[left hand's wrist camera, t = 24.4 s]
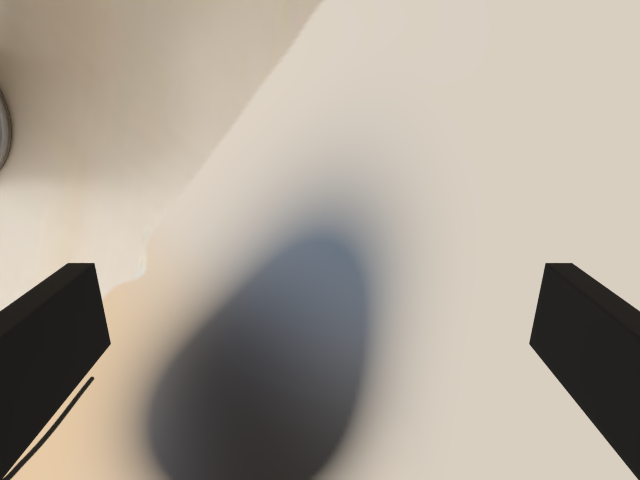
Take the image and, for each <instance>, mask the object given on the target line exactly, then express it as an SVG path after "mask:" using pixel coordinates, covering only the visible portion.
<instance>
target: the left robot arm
mask: <svg viewBox="0 0 640 480" xmlns="http://www.w3.org/2000/svg"><path fill="white" fill-rule="evenodd" d="M10 145H11V120H10V115H9V111H8V108H7V104H6V102H5V99H4V97H3V95H2V93H1V91H0V169H1V167H2V166H3V164H4V162H5V160H6V158H7V156H8V153H9V149H10ZM110 344H111V343H110V338H109V333H108V328H107V323H106V318H105V313H104V308H103V303H102V298H101V293H100V289H99V284H98V279H97V274H96V269H95V264H94V263H68V264H66V265H65V266H63V267H62V268H61V269H59V270H58V271H56V272H55V273H53V274H52V275H51V276H49V277H48V278H46V279H45V280H44V281H42V282H41V283H39V284H38V285H37V286H35V287H34V288H32V289H31V290H30V291H28V292H27V293H25V294H24V295H23V296H21V297H20V298H18V299H17V300H16V301H14V302H13V303H11V304H10V305H9V306H7V307H6V308H4V309H3V310H2V311H0V480H11V479H12V478H13V477H14V475H15V474H16V473H17V472H18V471H19V470H20V469H21V468H22V467H23V466H24V464H25V463H26V462H27V461H28V460H29V459H30V458H31V457H32V456H33V455H34V454H35V453H36V452H37V451H38V450H39V448H40V447H41V446H42V445H43V444H44V443H45V442H46V440H47V439H48V438H49V437H50V436H51V434H52V433H53V432H54V431H55V430H56V428H57V427H58V426H59V425H60V423H61V422H62V421H63V419H64V418H65V417H66V415H67V414H68V413H69V411H70V410H71V409H72V407H73V406H74V405H75V404H76V402H77V401H78V400H79V398H80V397H81V396H82V394H83V393H84V392H85V390H86V389H87V388H88V387H89V385H90V384H91V383H92V381H93V380H94V377H90V378H89V380H88V381H87V382H86V383H85V384H84V386H83V387H82V388H81V389H80V391H79V392H78V393H77V395H76V396H75V397H74V398H73V400H72V401H71V402H70V404H69V405H68V406H67V407H66V409H65V410H64V411H63V413H62V414H61V415H60V417H59V418H58V419H57V420H56V422H55V423H54V424H53V425H52V426H51V428H50V429H49V430H48V431H47V432H46V434H45V435H44V436H43V437H42V438H41V439H40V441H39V442H38V443H37V444H36V445H35V446H34V447H33V448H32V449H31V450H30V451H29V452H28V454H27V455H26V456H25V457H24V458H23V459H22V460H21V461H20V462H19V463H18V464H17V465H16V466H15V467H14V468H13V469H12V470H11V471H10V472H9V473H8V474H7V472H8V471H9V470H10V469H11V467H12V466H13V465H14V464H15V462H16V461H17V460H18V459H19V457H20V456H21V455H22V454H23V452H24V451H25V450H26V449H27V447H28V446H29V445H30V444H31V442H32V441H33V440H34V439H35V437H36V436H37V435H38V434H39V432H40V431H41V430H42V429H43V427H44V426H45V425H46V424H47V423H48V421H49V420H50V419H51V417H52V416H53V415H54V414H55V413H56V411H57V410H58V409H59V408H60V406H61V405H62V404H63V403H64V401H65V400H66V399H67V398H68V396H69V395H70V394H71V393H72V391H73V390H74V389H75V388H76V386H77V385H78V384H79V383H80V381H81V380H82V379H83V378H84V376H85V375H86V374H87V373H88V372H89V370H90V369H91V368H92V367H93V365H94V364H95V363H96V362H97V360H98V359H99V358H100V357H101V355H102V354H103V353H104V352H105V350H106V349H107V348H108V347H109V345H110ZM529 344H530V345H531V347H532V348H533V349H534V350H535V352H536V353H537V354H538V355H539V357H540V358H541V359H542V360H543V362H544V363H545V364H546V365H547V367H548V368H549V369H550V370H551V372H552V373H553V374H554V375H555V377H556V378H557V379H558V380H559V382H560V383H561V384H562V385H563V387H564V388H565V389H566V390H567V391H568V393H569V394H570V395H571V396H572V398H573V399H574V400H575V401H576V403H577V404H578V405H579V406H580V408H581V409H582V410H583V411H584V413H585V414H586V415H587V416H588V418H589V419H590V420H591V421H592V423H593V424H594V425H595V426H596V428H597V429H598V430H599V431H600V433H601V434H602V435H603V436H604V437H605V439H606V440H607V441H608V442H609V444H610V445H611V446H612V447H613V449H614V450H615V451H616V452H617V454H618V455H619V456H620V457H621V459H622V460H623V461H624V462H625V464H626V465H627V466H628V467H629V469H630V470H631V471H632V472H633V474H634V475H635V476H636V477H637V478H638V480H640V311H638V310H637V309H636V308H634V307H633V306H631V305H630V304H629V303H627V302H626V301H624V300H623V299H622V298H620V297H619V296H617V295H616V294H615V293H613V292H612V291H610V290H609V289H608V288H606V287H605V286H603V285H602V284H601V283H599V282H598V281H596V280H595V279H594V278H592V277H591V276H589V275H588V274H586V273H585V272H584V271H582V270H581V269H579V268H578V267H577V266H575V265H574V264H572V263H546V264H545V269H544V274H543V279H542V284H541V289H540V294H539V298H538V303H537V308H536V313H535V318H534V323H533V328H532V333H531V338H530V343H529ZM6 474H7V475H6ZM5 475H6V476H5ZM4 476H5V477H4ZM3 477H4V478H3Z"/></svg>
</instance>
